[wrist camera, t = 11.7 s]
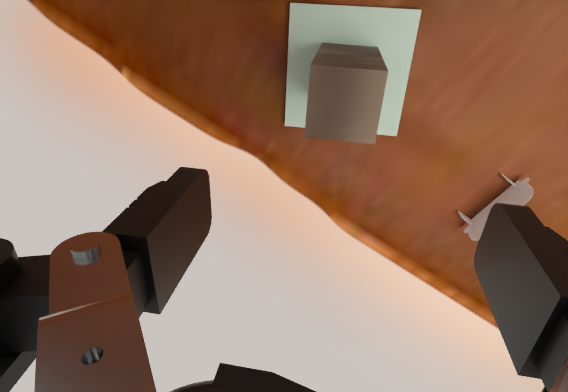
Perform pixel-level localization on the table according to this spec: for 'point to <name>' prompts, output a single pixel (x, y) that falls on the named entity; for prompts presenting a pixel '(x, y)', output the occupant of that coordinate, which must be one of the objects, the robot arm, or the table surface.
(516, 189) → the grey eared piece
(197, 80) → the table surface
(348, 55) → the walnut block
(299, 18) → the green mat
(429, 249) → the table surface
